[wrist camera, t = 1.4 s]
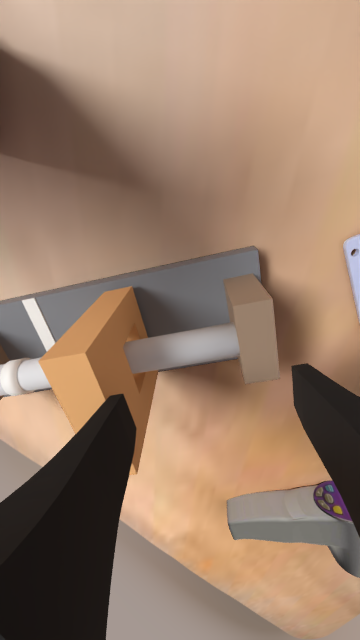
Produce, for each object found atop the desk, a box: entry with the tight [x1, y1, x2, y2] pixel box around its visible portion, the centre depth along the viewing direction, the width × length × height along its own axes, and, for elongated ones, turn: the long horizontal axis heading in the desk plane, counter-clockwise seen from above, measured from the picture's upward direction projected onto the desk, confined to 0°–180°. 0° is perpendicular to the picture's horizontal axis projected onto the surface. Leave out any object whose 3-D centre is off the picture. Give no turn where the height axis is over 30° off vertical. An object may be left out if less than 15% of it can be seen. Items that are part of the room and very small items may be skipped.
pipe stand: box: [0, 246, 280, 400], centre depth 19 cm, size 23×8×7 cm, turn 103°
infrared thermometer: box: [227, 481, 360, 578], centre depth 30 cm, size 5×12×15 cm
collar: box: [38, 286, 158, 475], centre depth 16 cm, size 2×7×9 cm, turn 13°
